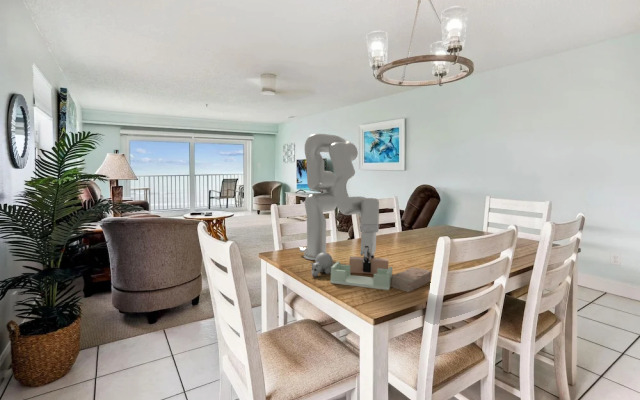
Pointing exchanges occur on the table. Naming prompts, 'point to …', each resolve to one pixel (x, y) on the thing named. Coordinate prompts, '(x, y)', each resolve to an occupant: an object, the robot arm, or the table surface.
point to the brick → (410, 279)
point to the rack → (361, 277)
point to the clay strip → (375, 262)
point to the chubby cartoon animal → (322, 264)
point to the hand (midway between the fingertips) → (368, 269)
